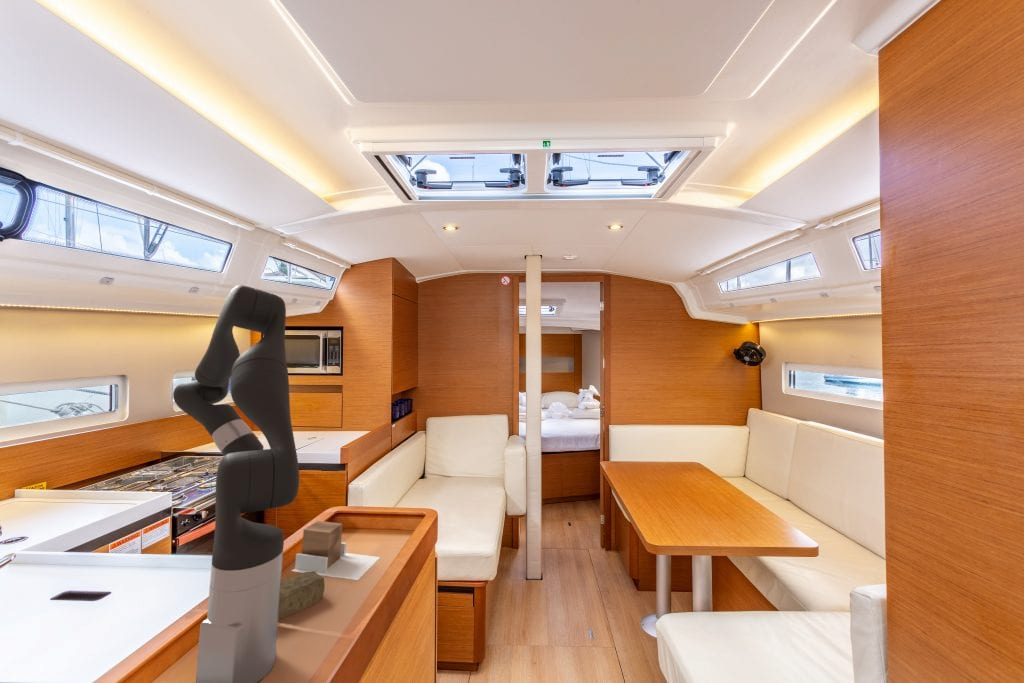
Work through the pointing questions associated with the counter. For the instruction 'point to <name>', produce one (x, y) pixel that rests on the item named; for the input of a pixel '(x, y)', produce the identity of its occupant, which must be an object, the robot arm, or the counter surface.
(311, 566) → the white tray
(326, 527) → the walnut block
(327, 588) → the counter surface
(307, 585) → the stone block
